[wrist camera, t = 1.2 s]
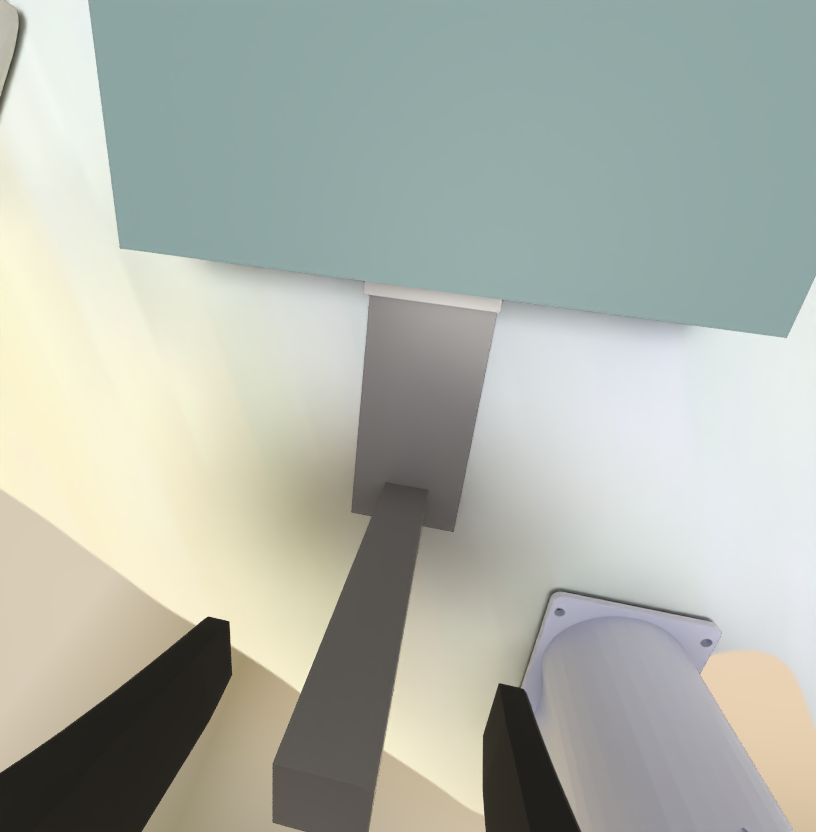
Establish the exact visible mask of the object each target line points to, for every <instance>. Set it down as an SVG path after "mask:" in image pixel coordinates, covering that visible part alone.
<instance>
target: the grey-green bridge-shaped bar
mask: <svg viewBox="0 0 816 832" xmlns="http://www.w3.org/2000/svg"><path fill="white" fill-rule="evenodd" d="M88 2H89V10H90V17H91V25H92V33H93V41H94V49H95V56H96V64H97V72H98V80H99V88H100V96H101V103H102V111H103V119H104V127H105V135H106V143H107V150H108V158H109V166H110V174H111V182H112V189H113V197H114V205H115V213H116V221H117V229H118V236H119V244H120V248H122V249H129V250H137V251H144V252H152V253H159V254H166V255H174V256H181V257H189V258H196V259H204V260H211V261H219V262H226V263H233V264H241V265H248V266H256V267H263V268H271V269H278V270H285V271H293V272H300V273H308V274H315V275H323V276H330V277H338V278H345V279H352V280H360V281H367V282H375V283H382V284H390V285H397V286H404V287H412V288H419V289H427V290H434V291H442V292H449V293H457V294H464V295H471V296H479V297H486V298H494V299H501V300H509V301H516V302H524V303H531V304H538V305H546V306H553V307H561V308H568V309H576V310H583V311H590V312H598V313H605V314H613V315H620V316H628V317H635V318H643V319H650V320H657V321H665V322H672V323H680V324H687V325H695V326H702V327H709V328H717V329H724V330H732V331H739V332H747V333H754V334H762V335H769V336H776V337H784V338H787V336H788V334H789V332H790V330H791V328H792V326H793V323H794V321H795V319H796V317H797V315H798V313H799V311H800V308H801V306H802V304H803V302H804V300H805V298H806V296H807V293H808V291H809V289H810V287H811V285H812V283H813V281H814V278H815V276H816V0H88Z"/></svg>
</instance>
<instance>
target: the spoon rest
mask: <svg viewBox="0 0 816 832" xmlns="http://www.w3.org/2000/svg"><path fill="white" fill-rule="evenodd" d="M18 27H19V23H18V14H17V11H16V9H15V8H14V6H12V5H11V4H10V3H9V2H7V1H6V0H0V96H1V93H2V89H3V86H4V83H5V79H6V76H7V73H8V70H9V66H10V63H11V60H12V56H13V53H14V49H15V43H16V38H17V32H18Z"/></svg>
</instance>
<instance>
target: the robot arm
mask: <svg viewBox="0 0 816 832" xmlns="http://www.w3.org/2000/svg"><path fill="white" fill-rule="evenodd" d="M558 608H561V610H556V609H558ZM720 637H721V631H720V629H719V628H718V627H717V625H716V624H715V623H713V622H710V621H705V620H700V619H695V618H690V617H685V616H680V615H675V614H670V613H665V612H660V611H655V610H650V609H645V608H640V607H635V606H631V605H626V604H621V603H616V602H611V601H606V600H601V599H596V598H591V597H586V596H581V595H576V594H571V593H566V592H556V593H554V594H553V595H552V596H551V598H550V601H549V604H548V607H547V610H546V613H545V616H544V619H543V622H542V625H541V628H540V631H539V634H538V637H537V640H536V643H535V646H534V649H533V652H532V655H531V658H530V661H529V665H528V668H527V671H526V674H525V677H524V680H523V683H522V686H521V688H518V687H513V686H509V685H505V684H500V683H499V685H498V688H497V691H496V695H495V698H494V701H493V705H492V708H491V711H490V715H489V718H488V721H487V724H486V728H485V731H484V734H483V800H484V814H485V826H486V832H795V831H794V830H793V828H792V826H791V825H790V823H789V821H788V820H787V818H786V816H785V815H784V813H783V811H782V810H781V808H780V806H779V805H778V803H777V801H776V800H775V798H774V796H773V795H772V793H771V792H770V790H769V788H768V787H767V785H766V783H765V782H764V780H763V778H762V777H761V775H760V773H759V772H758V770H757V768H756V767H755V765H754V764H753V762H752V760H751V759H750V757H749V755H748V753H747V752H746V750H745V748H744V747H743V745H742V743H741V742H740V740H739V739H738V737H737V735H736V734H735V732H734V730H733V729H732V727H731V725H730V724H729V722H728V720H727V719H726V717H725V715H724V714H723V712H722V710H721V709H720V707H719V705H718V704H717V702H716V700H715V699H714V697H713V695H712V694H711V693H710V691H709V689H708V687H707V686H706V684H705V682H704V681H703V679H702V677H701V676H700V673H701V671H702V670H703V667H704V666H705V664H706V662H707V660H708V659H709V657H710V655H711V653H712V652H713V650H714V648H715V646H716V644H717V643H718V641H719V639H720ZM231 676H232V666H231V645H230V625H229V621H225V620H221V619H217V618H212V617H207V618H205V619H204V620H203V621H201V622H200V623H199V624H198V625H197V626H195V627H194V628H193V629H192V630H190V631H189V632H188V633H187V634H186V635H185V636H183V637H182V638H181V639H180V640H178V641H177V642H176V643H175V644H174V645H172V646H171V647H170V648H169V649H168V650H166V651H165V652H164V653H163V654H161V655H160V656H159V657H158V658H156V659H155V660H154V661H153V662H152V663H150V664H149V665H148V666H146V667H145V668H144V669H143V670H141V671H140V672H139V673H138V674H136V675H135V676H134V677H132V678H131V679H130V680H129V681H128V682H126V683H125V684H124V685H122V686H121V687H120V688H119V689H118V690H116V691H115V692H114V693H112V694H111V695H109V696H108V697H107V698H106V699H104V700H103V701H102V702H100V703H99V704H98V705H96V706H95V707H93V708H92V709H91V710H89V711H88V712H87V713H85V714H84V715H83V716H81V717H80V718H78V719H77V720H76V721H74V722H73V723H72V724H70V725H69V726H68V727H66V728H65V729H64V730H62V731H61V732H59V733H58V734H57V735H55V736H54V737H52V738H51V739H50V740H48V741H47V742H45V743H44V744H42V745H41V746H39V747H38V748H37V749H35V750H34V751H32V752H31V753H29V754H28V755H26V756H25V757H23V758H22V759H21V760H19V761H17V762H16V763H14V764H13V765H11V766H10V767H9V768H7V769H6V770H4V771H2V772H1V773H0V832H142V830H143V828H144V827H145V825H146V824H147V822H148V820H149V818H150V817H151V815H152V814H153V812H154V811H155V809H156V807H157V806H158V804H159V802H160V801H161V799H162V798H163V796H164V794H165V793H166V791H167V789H168V788H169V786H170V784H171V783H172V781H173V779H174V778H175V776H176V775H177V773H178V771H179V770H180V768H181V767H182V765H183V763H184V762H185V760H186V758H187V757H188V755H189V754H190V752H191V750H192V749H193V747H194V745H195V744H196V742H197V740H198V739H199V737H200V735H201V734H202V732H203V731H204V729H205V727H206V725H207V724H208V722H209V720H210V719H211V717H212V715H213V712H214V710H215V709H216V707H217V705H218V703H219V701H220V699H221V696H222V695H223V693H224V690H225V688H226V686H227V684H228V682H229V680H230V678H231Z"/></svg>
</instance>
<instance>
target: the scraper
mask: <svg viewBox="0 0 816 832" xmlns="http://www.w3.org/2000/svg"><path fill="white" fill-rule="evenodd" d="M364 294H367V295H370V300H369V311H368V323H367V335H366V347H365V358H364V370H363V382H362V394H361V405H360V417H359V429H358V441H357V452H356V464H355V476H354V488H353V499H352V511H351V512H353V513H358V514H363V515H368V516H372V517H371V520H370V522H369V525H368V527H367V530H366V532H365V535H364V537H363V540H362V542H361V545H360V547H359V550H358V552H357V555H356V557H355V560H354V562H353V565H352V567H351V570H350V572H349V575H348V577H347V580H346V582H345V585H344V587H343V590H342V592H341V595H340V597H339V600H338V602H337V605H336V607H335V610H334V612H333V615H332V617H331V620H330V622H329V625H328V627H327V630H326V632H325V635H324V637H323V640H322V642H321V644H320V647H319V649H318V652H317V654H316V657H315V659H314V662H313V664H312V667H311V669H310V672H309V674H308V677H307V679H306V682H305V684H304V687H303V689H302V692H301V694H300V697H299V699H298V702H297V704H296V707H295V709H294V712H293V714H292V717H291V719H290V722H289V724H288V727H287V729H286V732H285V734H284V737H283V739H282V742H281V744H280V747H279V749H278V752H277V754H276V757H275V759H274V762H273V823H276V824H280V825H283V826H287V827H290V828H294V829H298V830H301V831H305V832H369V826H370V821H371V815H372V810H373V804H374V798H375V793H376V787H377V781H378V776H379V770H380V764H381V758H382V753H383V747H384V741H385V736H386V730H387V724H388V719H389V713H390V707H391V702H392V696H393V690H394V685H395V679H396V673H397V667H398V662H399V656H400V650H401V645H402V639H403V633H404V628H405V622H406V616H407V611H408V605H409V599H410V593H411V588H412V582H413V576H414V571H415V565H416V559H417V554H418V548H419V542H420V537H421V531H422V526H425V527H430V528H436V529H441V530H446V531H451V532H454V527H455V522H456V517H457V512H458V507H459V502H460V497H461V492H462V487H463V482H464V477H465V472H466V467H467V462H468V457H469V452H470V447H471V442H472V437H473V432H474V427H475V422H476V417H477V412H478V407H479V402H480V397H481V392H482V387H483V382H484V377H485V372H486V367H487V362H488V356H489V351H490V346H491V341H492V336H493V331H494V326H495V321H496V316H497V312H498V313H500V310H501V305H502V300H501V299H494V298H486V297H479V296H471V295H464V294H457V293H449V292H442V291H434V290H427V289H419V288H412V287H404V286H397V285H390V284H382V283H375V282H367V281H365V283H364Z"/></svg>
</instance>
